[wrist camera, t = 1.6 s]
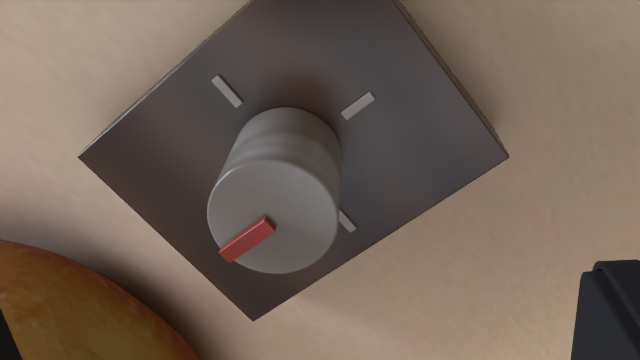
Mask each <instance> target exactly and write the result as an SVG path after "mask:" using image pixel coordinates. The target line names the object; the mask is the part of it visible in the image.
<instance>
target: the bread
mask: <svg viewBox="0 0 640 360" xmlns="http://www.w3.org/2000/svg"><path fill="white" fill-rule="evenodd" d="M0 308H1V310H2V313H3V315H4V317H5V320H6V322H7V324H8V327H9V329H10V331H11V334H12V336H13V338H14V341H15V343H16V345H17V348H18V350H19V352H20V355H21V357H22V359H23V360H200V358H199V357H198V355H197V354H196V353H195V352H194V350H193V349H192V348H191V346H190V345H189V344H188V343H187V341H186V340H185V339H184V338H183V337H182V336H180V335H179V334H178V333H177V332H176V331H175V330H174V329H173V328H172V327H171V326H170V325H168V324H167V323H166V322H165V321H164V320H163V319H162V318H160V317H159V316H158V315H157V314H156V313H155V312H153V311H152V310H151V309H150V308H148V307H147V306H146V305H144V304H143V303H142V302H140V301H139V300H138V299H136V298H135V297H133V296H132V295H131V294H129V293H128V292H127V291H125V290H124V289H123V288H121V287H120V286H119V285H117V284H116V283H114V282H113V281H111V280H109V279H107V278H106V277H104V276H102V275H100V274H99V273H97V272H95V271H93V270H91V269H89V268H87V267H85V266H83V265H81V264H79V263H77V262H75V261H73V260H71V259H68V258H66V257H63V256H61V255H59V254H56V253H53V252H50V251H46V250H43V249H40V248H36V247H32V246H28V245H24V244H19V243H15V242H10V241H4V240H0Z"/></svg>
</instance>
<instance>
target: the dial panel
mask: <svg viewBox="0 0 640 360" xmlns="http://www.w3.org/2000/svg"><path fill="white" fill-rule="evenodd" d="M282 107H289V108H297V109H301V110H304V111H307V112H310V113H312V114H314V115H315V116H317V117H319V118H320V119H321V120H323V121H324V122H325V123H326V124H327V125H328V126H329V127H330V128H331V129H332V131H333V132H334V134H335V135H336V137H337V139H338V141H339V144H340V147H341V151H342V171H341V189H340V206H339V224H338V231H337V235H336V237H335V240H334V242H333V244H332V246H331V247H330V249H329V250H328V251H327V253H326V254H325V255H324V256H323V257H322V258H321V259H319V260H318V261H317V262H315V263H314V264H312V265H310V266H309V267H307V268H304V269H302V270H299V271H295V272H291V273H285V274H270V273H263V272H259V271H255V270H252V269H249V268H247V267H245V266H243V265H241V264H239V263H237V262H236V261H232V262H231V263H229V262H228V261H227V260H225V259H224V258H223V257H222V256H221V255H220V254H219V250H220V247H219V245H218V244H217V242H216V241H215V239H214V237H213V235H212V233H211V230H210V228H209V224H208V219H207V206H208V201H209V197H210V194H211V192H212V190H213V188H214V185H215V183H216V181H217V179H218V177H219V175H220V173H221V171H222V169H223V166H224V164H225V162H226V160H227V158H228V156H229V154H230V152H231V150H232V148H233V145H234V143H235V141H236V139H237V137H238V135H239V133H240V131H241V130H242V128H243V127H244V126H245V125H246V123H247V122H248V121H250V120H251V119H252V118H253V117H255V116H256V115H258V114H260V113H262V112H264V111H267V110H270V109H274V108H282ZM78 158H79V159H80V160H81V161H82V162H83V163H84V164H85V165H86V166H88V167H89V168H90V169H91V170H92V171H93V172H94V173H95V174H96V175H97V176H98V177H99V178H100V179H101V180H102V181H104V182H105V183H106V184H107V185H108V186H109V187H110V188H111V189H112V190H113V191H114V192H115V193H116V194H117V195H118V196H120V197H121V198H122V199H123V200H124V201H125V202H126V203H127V204H128V205H129V206H130V207H131V208H132V209H133V210H134V211H136V212H137V213H138V214H139V215H140V216H141V217H142V218H143V219H144V220H145V221H146V222H147V223H148V224H149V225H150V226H152V227H153V228H154V229H155V230H156V231H157V232H158V233H159V234H160V235H161V236H162V237H163V238H164V239H165V240H166V241H168V242H169V243H170V244H171V245H172V246H173V247H174V248H175V249H176V250H177V251H178V252H179V253H180V254H181V255H182V256H184V257H185V258H186V259H187V260H188V261H189V262H190V263H191V264H192V265H193V266H194V267H195V268H196V269H197V270H198V271H200V272H201V273H202V274H203V275H204V276H205V277H206V278H207V279H208V280H209V281H210V282H211V283H212V284H213V285H214V286H216V287H217V288H218V289H219V290H220V291H221V292H222V293H223V294H224V295H225V296H226V297H227V298H228V299H229V300H230V301H232V302H233V303H234V304H235V305H236V306H237V307H238V308H239V309H240V310H241V311H242V312H243V313H244V314H245V315H246V316H248V317H249V318H250V319H251V320H252V321H255V320H257V319H258V318H260V317H261V316H263V315H265V314H266V313H268V312H269V311H271V310H272V309H274V308H275V307H277V306H279V305H280V304H282V303H283V302H285V301H286V300H288V299H290V298H291V297H293V296H294V295H296V294H297V293H299V292H300V291H302V290H304V289H305V288H307V287H308V286H310V285H311V284H313V283H314V282H316V281H318V280H319V279H321V278H322V277H324V276H325V275H327V274H329V273H330V272H332V271H333V270H335V269H336V268H338V267H339V266H341V265H343V264H344V263H346V262H347V261H349V260H350V259H352V258H353V257H355V256H357V255H358V254H360V253H361V252H363V251H364V250H366V249H368V248H369V247H371V246H372V245H374V244H375V243H377V242H378V241H380V240H382V239H383V238H385V237H386V236H388V235H389V234H391V233H392V232H394V231H396V230H397V229H399V228H400V227H402V226H403V225H405V224H406V223H408V222H410V221H411V220H413V219H414V218H416V217H417V216H419V215H421V214H422V213H424V212H425V211H427V210H428V209H430V208H431V207H433V206H435V205H436V204H438V203H439V202H441V201H442V200H444V199H445V198H447V197H449V196H450V195H452V194H453V193H455V192H456V191H458V190H460V189H461V188H463V187H464V186H466V185H467V184H469V183H470V182H472V181H474V180H475V179H477V178H478V177H480V176H481V175H483V174H484V173H486V172H488V171H489V170H491V169H492V168H494V167H495V166H497V165H499V164H500V163H502V162H503V161H505V160H506V159H508V158H509V154H508V153H507V151H506V149H505V147H504V146H503V144H502V142H501V140H500V138H499V137H498V135H497V133H496V131H495V129H494V128H493V127H492V125H491V124H490V123H489V121H488V120H487V118H486V117H485V116H484V114H483V113H482V112H481V110H480V109H479V108H478V106H477V105H476V104H475V102H474V101H473V100H472V98H471V97H470V96H469V94H468V93H467V91H466V90H465V89H464V87H463V86H462V85H461V83H460V82H459V81H458V79H457V78H456V77H455V75H454V74H453V73H452V71H451V70H450V68H449V67H448V66H447V64H446V63H445V62H444V60H443V59H442V58H441V56H440V55H439V54H438V52H437V51H436V50H435V48H434V47H433V46H432V44H431V43H430V41H429V40H428V39H427V37H426V36H425V35H424V33H423V32H422V31H421V29H420V28H419V27H418V25H417V24H416V23H415V21H414V20H413V19H412V17H411V16H410V14H409V13H408V12H407V10H406V9H405V8H404V6H403V5H402V4H401V2H400V1H399V0H250V1H249V2H248V3H247V4H246V5H244V6H243V7H242V8H241V9H240V10H239V11H238V12H236V13H235V14H234V15H233V16H232V17H231V18H230V19H229V20H227V21H226V22H225V23H224V24H223V25H222V26H221V27H220V28H218V29H217V30H216V31H215V32H214V33H213V34H212V35H211V36H209V37H208V38H207V39H206V40H205V41H204V42H203V43H202V44H200V45H199V46H198V47H197V48H196V49H195V50H194V51H192V52H191V53H190V54H189V55H188V56H187V57H186V58H185V59H183V60H182V61H181V62H180V63H179V64H178V65H177V66H176V67H174V68H173V69H172V70H171V71H170V72H169V73H168V74H167V75H165V76H164V77H163V78H162V79H161V80H160V81H159V82H158V83H156V84H155V85H154V86H153V87H152V88H151V89H150V90H148V91H147V92H146V93H145V94H144V95H143V96H142V97H141V98H139V99H138V100H137V101H136V102H135V103H134V104H133V105H132V106H130V107H129V108H128V109H127V110H126V111H125V112H124V113H123V114H121V115H120V116H119V117H118V118H117V119H116V120H115V121H114V122H112V123H111V124H110V125H109V126H108V127H107V128H106V129H105V130H103V131H102V132H101V133H100V134H99V135H98V136H97V137H96V138H95V139H94V140H93V141H92V142H91V143H90V144H89V145H88V146H87V147H86V148H85V149H84V150H83V151H82V152H81V153H80V154H79V155H78Z"/></svg>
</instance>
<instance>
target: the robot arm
mask: <svg viewBox="0 0 640 360" xmlns="http://www.w3.org/2000/svg"><path fill="white" fill-rule="evenodd" d="M0 360H23V359H22V357H21V355H20V352H19V350H18V348H17V345H16V343H15V341H14V338H13V336H12V334H11V331H10V329H9V327H8V324H7V322H6V320H5V317H4V315H3V313H2V310H1V308H0ZM571 360H640V261H639V260H616V261H598V262H596V263H595V265H594V267H593V270H592V271H589V272H584V273H583V274H582V276H581V280H580V288H579V296H578V304H577V312H576V321H575V329H574V337H573V345H572V353H571Z"/></svg>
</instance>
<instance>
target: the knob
mask: <svg viewBox="0 0 640 360" xmlns="http://www.w3.org/2000/svg"><path fill="white" fill-rule="evenodd" d="M341 171H342V151H341V147H340V144H339V141H338V139H337V137H336V135H335V134H334V132H333V131H332V129H331V128H330V127H329V126H328V125H327V124H326V123H325V122H324V121H323V120H321V119H320V118H319V117H317V116H315V115H314V114H312V113H310V112H307V111H304V110H301V109H297V108H289V107H282V108H274V109H270V110H267V111H264V112H262V113H260V114H258V115H256V116H255V117H253V118H252V119H251V120H250V121H248V122H247V123H246V125H245V126H244V127H243V128H242V130H241V131H240V133H239V135H238V137H237V139H236V141H235V143H234V145H233V148H232V150H231V152H230V154H229V156H228V158H227V160H226V162H225V164H224V166H223V169H222V171H221V173H220V175H219V177H218V179H217V181H216V183H215V185H214V188H213V190H212V192H211V194H210V197H209V201H208V206H207V219H208V224H209V228H210V230H211V233H212V235H213V237H214V239H215V241H216V242H217V244H218V245H219V247H220V250H219V254H220V255H221V256H222V257H223V258H224V259H225V260H227V261H228V262H229V263H231V262H232V261H236V262H237V263H239V264H241V265H243V266H245V267H247V268H249V269H252V270H255V271H259V272H263V273H270V274H285V273H291V272H295V271H299V270H302V269H304V268H307V267H309V266H310V265H312V264H314V263H315V262H317V261H318V260H319V259H321V258H322V257H323V256H324V255H325V254H326V253H327V251H328V250H329V249H330V247H331V246H332V244H333V242H334V240H335V237H336V235H337V231H338V224H339V206H340V189H341Z"/></svg>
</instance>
